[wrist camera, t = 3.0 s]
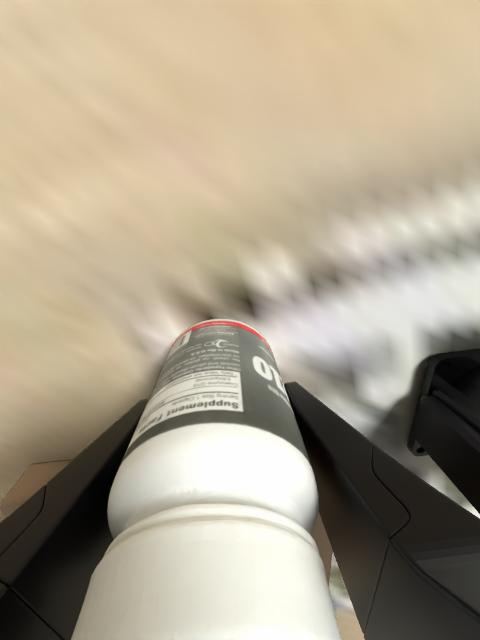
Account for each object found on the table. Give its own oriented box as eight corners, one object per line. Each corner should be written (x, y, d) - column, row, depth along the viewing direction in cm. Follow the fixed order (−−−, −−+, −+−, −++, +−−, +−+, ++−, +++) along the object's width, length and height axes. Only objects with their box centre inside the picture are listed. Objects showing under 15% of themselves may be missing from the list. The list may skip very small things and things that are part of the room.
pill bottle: (281, 389, 12) (386, 714, 4) (189, 412, 12) (125, 758, 4) (259, 302, 10) (379, 596, 2) (152, 331, 10) (-80, 685, 2)
